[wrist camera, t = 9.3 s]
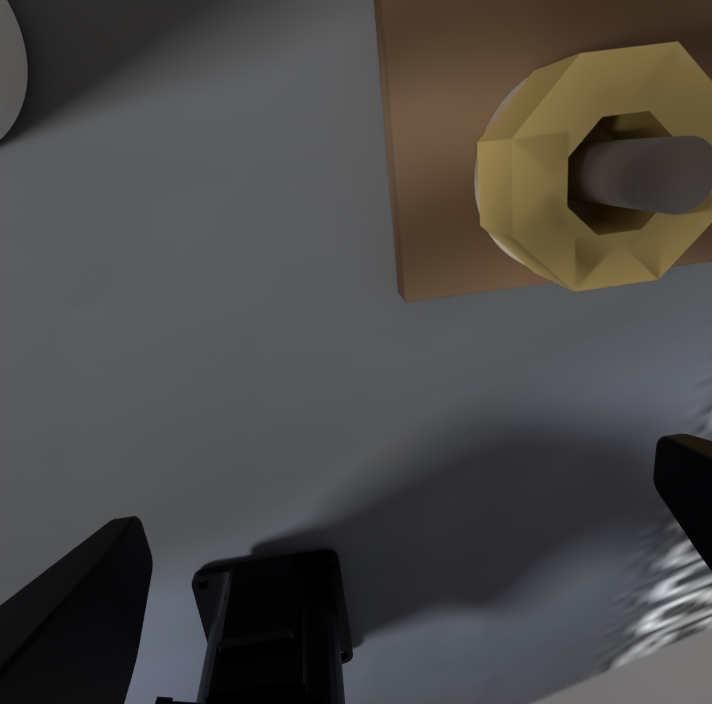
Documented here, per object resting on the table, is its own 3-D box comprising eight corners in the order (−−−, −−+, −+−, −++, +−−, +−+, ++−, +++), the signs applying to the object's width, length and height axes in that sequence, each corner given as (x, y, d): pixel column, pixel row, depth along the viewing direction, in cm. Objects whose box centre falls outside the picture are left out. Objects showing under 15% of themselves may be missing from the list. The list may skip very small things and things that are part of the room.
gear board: (698, 252, 21) (880, 294, 14) (398, 292, 20) (444, 355, 14) (762, -299, 15) (1104, -640, 9) (351, -269, 15) (391, -612, 8)
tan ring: (656, 255, 19) (717, 271, 16) (482, 279, 19) (513, 300, 16) (672, 54, 17) (746, 33, 14) (474, 78, 17) (510, 61, 14)
